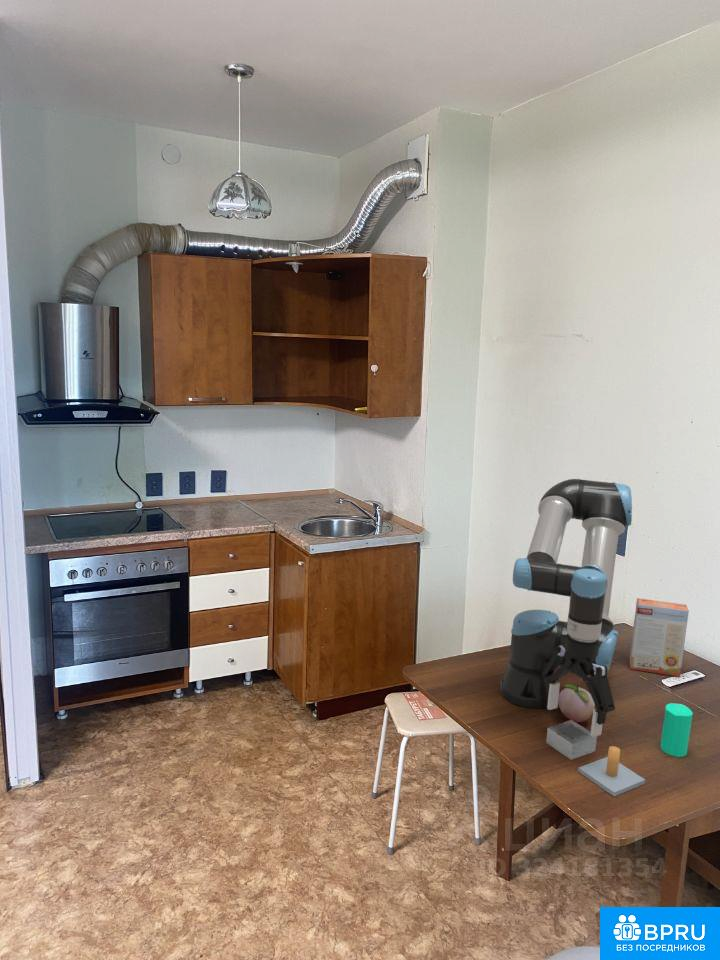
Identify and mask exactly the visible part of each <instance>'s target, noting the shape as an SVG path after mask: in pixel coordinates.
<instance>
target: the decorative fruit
mask: <svg viewBox="0 0 720 960" xmlns="http://www.w3.org/2000/svg"><path fill="white" fill-rule="evenodd" d="M563 687H564V688H563V689H562V690H561V691H559V697H558V707H559V709H560V711H561V712H562V714H563V715H564V717H566V718H567V719H568V720H569V721H570V720H572V721H574V722H576V723H583V722H586V721H587V720H589V718H590V717H591V716H593V709H596V706H595V704H594V701H593V699H592V696H591V694H590V692H589V690H588V691H587V690H586V689H585V688H582V687H580V686H579V685H577V686H576V685H575V684H566V685H564V686H563Z"/></svg>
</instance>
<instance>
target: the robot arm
mask: <svg viewBox="0 0 720 960" xmlns="http://www.w3.org/2000/svg"><path fill="white" fill-rule="evenodd" d="M632 501H633V499H632V490H631V488H630V487H629V486H628V485H626V484H623V483H616V482H614V481H613V482H607V481H597V480H587V479H580V478H570V479H566V480H563V481H560V482H558V483H557V484H555V485H553V486H551V487H550V488H549V489H548V490H547V491H546V492H545V493H544V494H543V495H542V497H541V499H540V501H539V504H538V508H537V512H538V515H539V516H538V520H537V522H536V526H535V529H534V533H533V536H532V539H531V542H530V545H529V547H528V552H527V555H526V557H524V558H521V557H519V558H517V559H516V560H515V562H514V566H513V572H512V583H513V586H514V587H516V588H518V589H524V590H527V591H533V592H539V593H545V594H552V595H556V596H557V595H559V596H565V597H569V607H568V608H569V609H568V614H567V615H568V616H567V621H564V620H563V621H562V620H560V618H559V616H558V614H557V613H555V612H554V611H553V612H552V611H550V610H545V609H529V610H524V611H521V612H519V613H517V614H516V615H515V616H514V618H513V623H512V628H511V630H510V632H511V637H510V638H511V639H510V647H509V648H510V650H509V660H508V661H509V662H508V666H507V667H506V670H505V672H504V675H503V677H502V679H501V681H500V687H499V692H500V695H501V696H502V697H503V698H504V699H505V700H507V701H509V702H510V703H513V704H515V705H518V706H522V707H526V708H532V709H535V708H536V709H539V708H546V709H547V710H549V711H551V710H552V711H553V710H554V709H555V710H556V709H558V707H559V705H558V697H559V694H560V686H561V683H560V682H559V681H560V679H561V678H562V677H564V676H566V674H568V673H569V672H570V673H572V674H574V675H576V676H577V677H579V678H582V681H583V682H584V684H586V687H587V689H588V692H589V693H590V694H591V696H592V699H593V701H594V704H595V708H594V709H593V713H592V718H591V719H592V720H591V726H590V732H591V735H590V736H592V737H595V736H597V737H598V736H601V735H602V730H603V724H604V725H605V723H606V719H607V713H610V712H613V711H615V710H616V706H615V702H614V697H613V694H612V690H611V686H610V685H611V684H610V682H609V681H610V680H609V678H608V672H609V670H610V667H611V665H612V661H613V658H614V657H613V656H614V653H615V649H616V646H617V645H616V644H617V641H618V636H619V632H618V631H617V630H616V629H614V623H613V621H612V620H611V619H610V617H609V615H610V614H609V613H610V605H611V598H612V589H613V582H614V576H615V575H614V574H615V566H616V558H617V557H616V556H617V552H618V551H617V550H618V542H619V536H620V535H621V534H623V533H625V531H626V527H630V526H631V525H632V516H633V514H632V513H633V511H632V508H633V502H632ZM571 519H572V520H574V519H575V520H577V521H578V520H579V521H581V526H582V528H583V529H584V530H585V531H586V533H585V538H584V539H585V540H584V545H583V552H582V560H581V566H575V565H570V564H569V565H568V564H564V563H563V564H561V563H558V559H559V555H560V552H561V546H562V545H563V544H562V543H563V539H564V535H565V530H566V527H567V523H569V522H570V521H571ZM558 666H559V668H558ZM556 669H557V670H556Z"/></svg>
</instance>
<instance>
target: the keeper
mask: <svg viewBox="0 0 720 960" xmlns="http://www.w3.org/2000/svg"><path fill="white" fill-rule="evenodd" d="M620 758H621V749H620V748H619V747H618V746H615V745H611V746H609V747H608V753H607V756H606V757H603V758H600V759H597V760H595V761H593V762H592V761H591V762H590V763H587V764H585V765H580V766H579V767H578V769H577V772H578V773H579V774H581V775H582V776H584V777H585V778H587V779H588V780H589V781H591V782H592V783H594V784H595V785H597V787H599V788H601V789H602V790H604V791H605V792H607V793H608V794H610V795H611V796H612V797H616V796H619V795H621V794H623V793H626V792H628V791H631V790H634V789H636V788H638V787H640V786H642V785H645V784H646V779H645V778H644V777H642V776H640V775H639V774H638V773H636V772H635V771H632V770H631V769H629V768H628V767H626V766H625V765H623V764H622V763H620Z"/></svg>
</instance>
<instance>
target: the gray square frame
mask: <svg viewBox="0 0 720 960" xmlns="http://www.w3.org/2000/svg"><path fill="white" fill-rule="evenodd" d="M546 731H547V732H546V740H545V743H546V744H547V745H548V746H550V747H551V748H553V749H554V750H556V751H558V752H559V753H560V754H561V755H563V756H564V757H566V758H567V759H569V760H570V761H572V760H575V759H579V758H581V757H584V756H586V755H588V754H592V753H595V752H596V747H597V739H598V736H595V737H592V736H590V735H591V730H588V728H585V727H584V726H582V725H580V724H579V723H578V722H574V721H572V720H570V719H569V720H567V721H566V720H565V721H563V722H560V723H557V724H555V725H551V726H548V727H547V730H546Z"/></svg>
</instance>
